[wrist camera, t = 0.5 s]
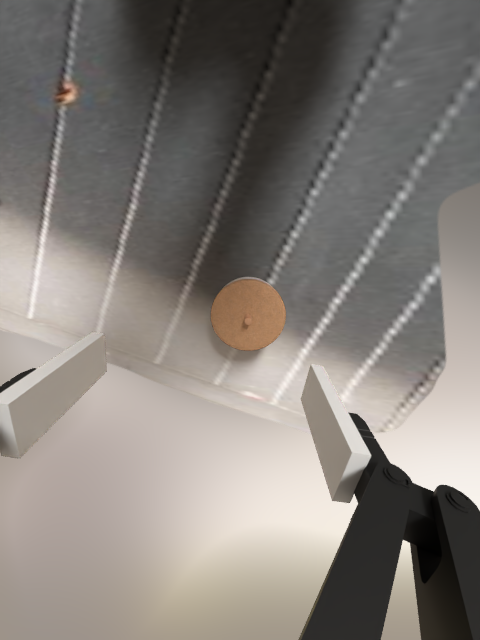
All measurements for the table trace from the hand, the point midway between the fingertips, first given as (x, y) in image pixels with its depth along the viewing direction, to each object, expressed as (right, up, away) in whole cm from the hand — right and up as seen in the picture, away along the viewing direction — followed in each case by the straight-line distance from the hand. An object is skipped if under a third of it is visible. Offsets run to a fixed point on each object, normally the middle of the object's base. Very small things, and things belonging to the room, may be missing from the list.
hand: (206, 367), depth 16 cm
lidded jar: (+3, +6, +27) cm, 28 cm away
